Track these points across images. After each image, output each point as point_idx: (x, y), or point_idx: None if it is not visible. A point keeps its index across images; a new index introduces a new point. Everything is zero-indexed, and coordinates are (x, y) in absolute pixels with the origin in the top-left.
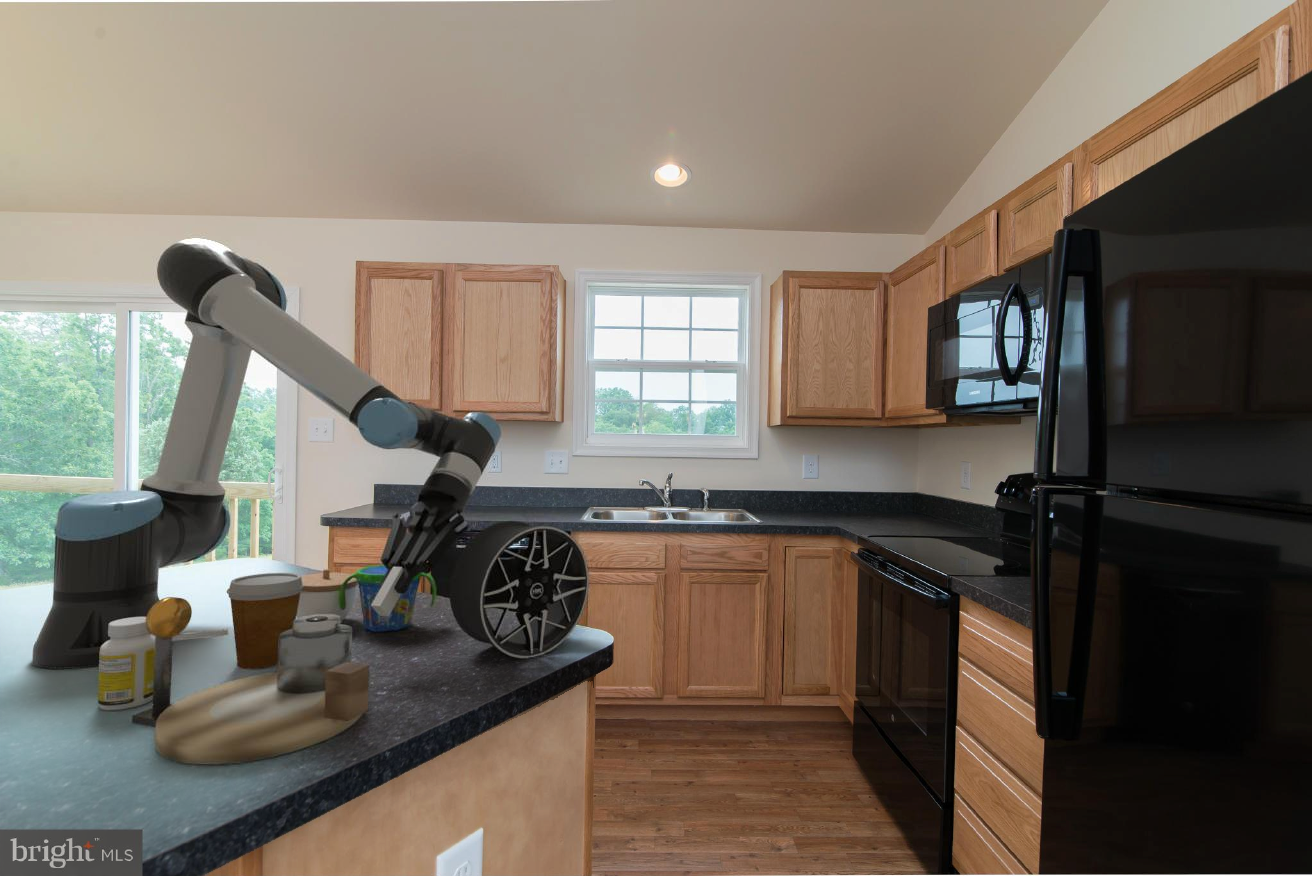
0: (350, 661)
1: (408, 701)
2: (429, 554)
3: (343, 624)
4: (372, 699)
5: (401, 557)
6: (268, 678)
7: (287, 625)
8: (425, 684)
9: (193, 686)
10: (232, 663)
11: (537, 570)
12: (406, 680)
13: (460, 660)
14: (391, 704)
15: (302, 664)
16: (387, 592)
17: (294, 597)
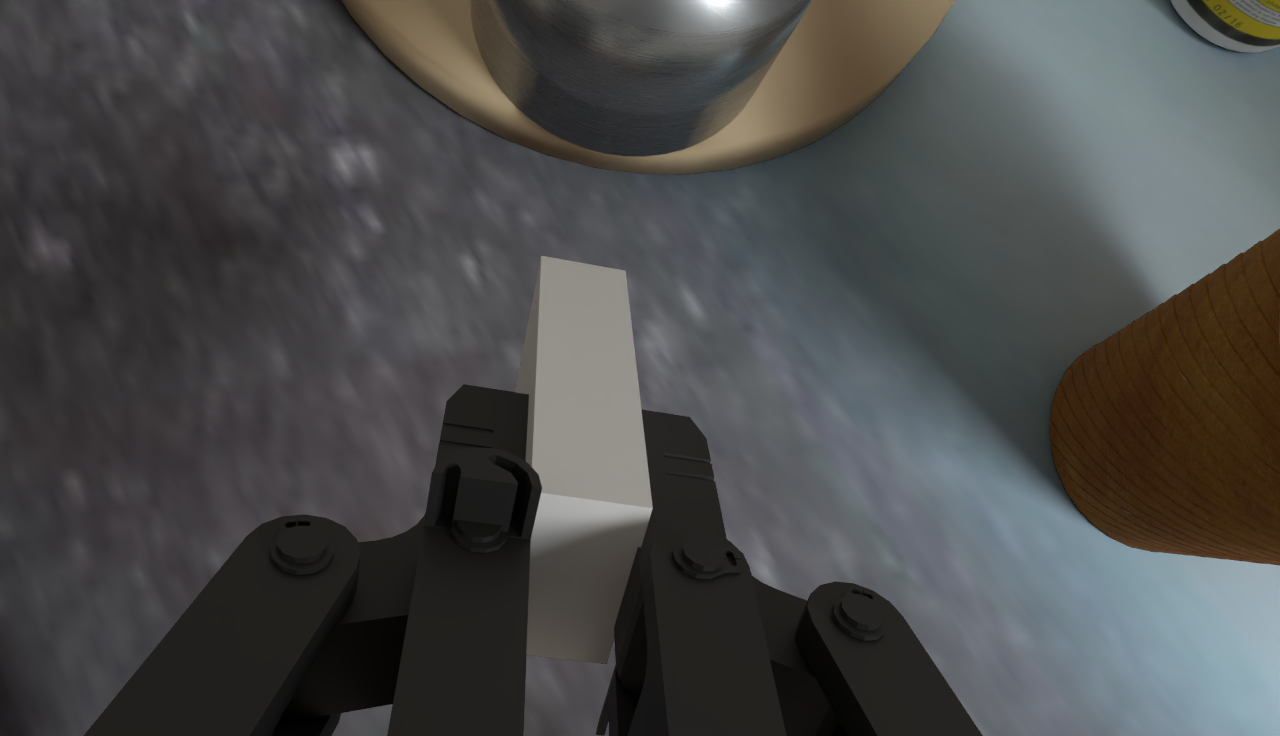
0: (484, 8)
1: (171, 78)
2: (177, 633)
3: (626, 18)
4: (356, 84)
5: (649, 660)
6: (839, 26)
7: (1159, 389)
8: (179, 282)
9: (1162, 139)
10: None
11: None
12: (309, 320)
13: (119, 687)
14: (238, 42)
15: None
16: (539, 314)
17: (1275, 377)
